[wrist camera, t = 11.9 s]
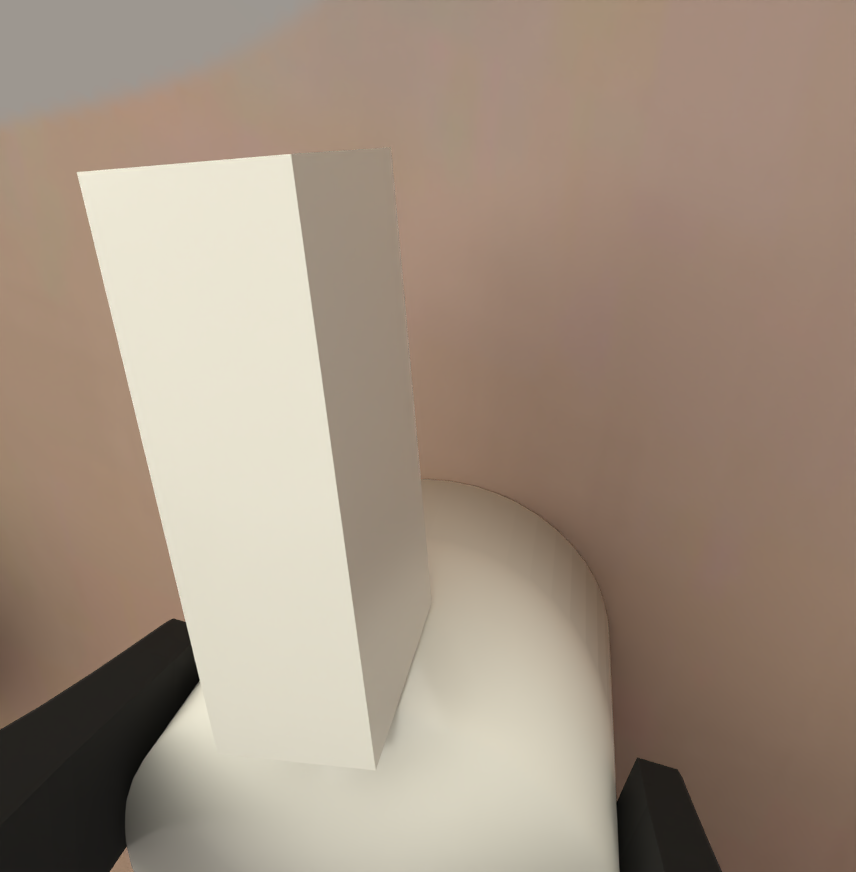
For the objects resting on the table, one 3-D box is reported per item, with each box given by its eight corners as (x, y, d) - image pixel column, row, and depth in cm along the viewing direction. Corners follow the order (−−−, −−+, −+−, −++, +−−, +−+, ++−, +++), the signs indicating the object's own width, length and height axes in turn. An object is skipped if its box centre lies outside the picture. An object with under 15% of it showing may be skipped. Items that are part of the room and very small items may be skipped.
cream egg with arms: (203, 164, 13) (-186, 195, 6) (618, 129, 11) (660, 122, 5) (330, 869, 19) (202, 1236, 13) (604, 907, 18) (614, 1344, 11)
